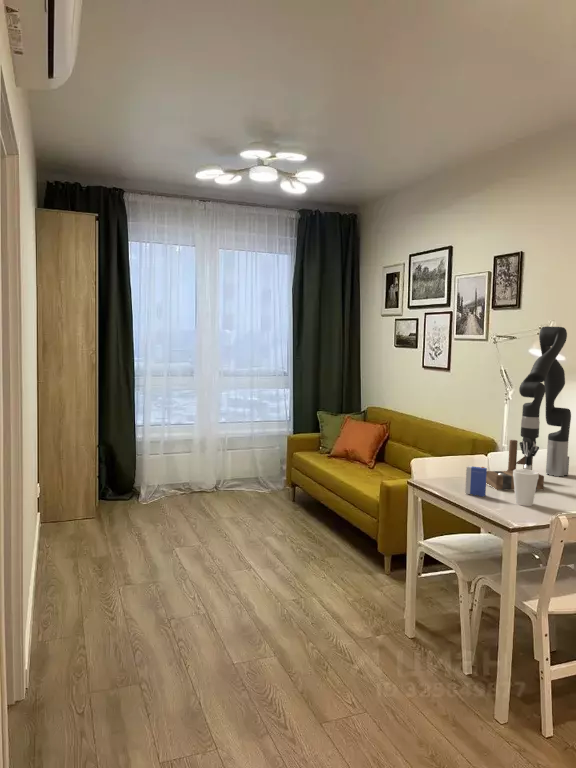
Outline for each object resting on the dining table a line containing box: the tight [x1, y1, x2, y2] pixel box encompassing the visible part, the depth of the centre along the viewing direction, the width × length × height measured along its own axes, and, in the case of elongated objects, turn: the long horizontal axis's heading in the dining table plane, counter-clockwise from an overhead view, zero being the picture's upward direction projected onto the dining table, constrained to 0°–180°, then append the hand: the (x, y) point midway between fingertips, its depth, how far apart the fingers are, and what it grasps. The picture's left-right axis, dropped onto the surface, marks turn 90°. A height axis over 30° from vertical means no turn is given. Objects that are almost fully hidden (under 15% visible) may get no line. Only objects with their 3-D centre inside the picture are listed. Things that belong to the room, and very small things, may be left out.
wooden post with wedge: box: [506, 439, 534, 471], centre depth 280 cm, size 4×11×18 cm, turn 60°
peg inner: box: [524, 464, 533, 471], centre depth 263 cm, size 3×3×6 cm
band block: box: [486, 470, 545, 490], centre depth 263 cm, size 22×10×6 cm, turn 97°
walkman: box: [464, 465, 488, 497], centre depth 247 cm, size 8×3×12 cm, turn 62°
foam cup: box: [513, 468, 540, 507], centre depth 235 cm, size 10×9×13 cm
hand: (527, 464), depth 263 cm, fingers closed
